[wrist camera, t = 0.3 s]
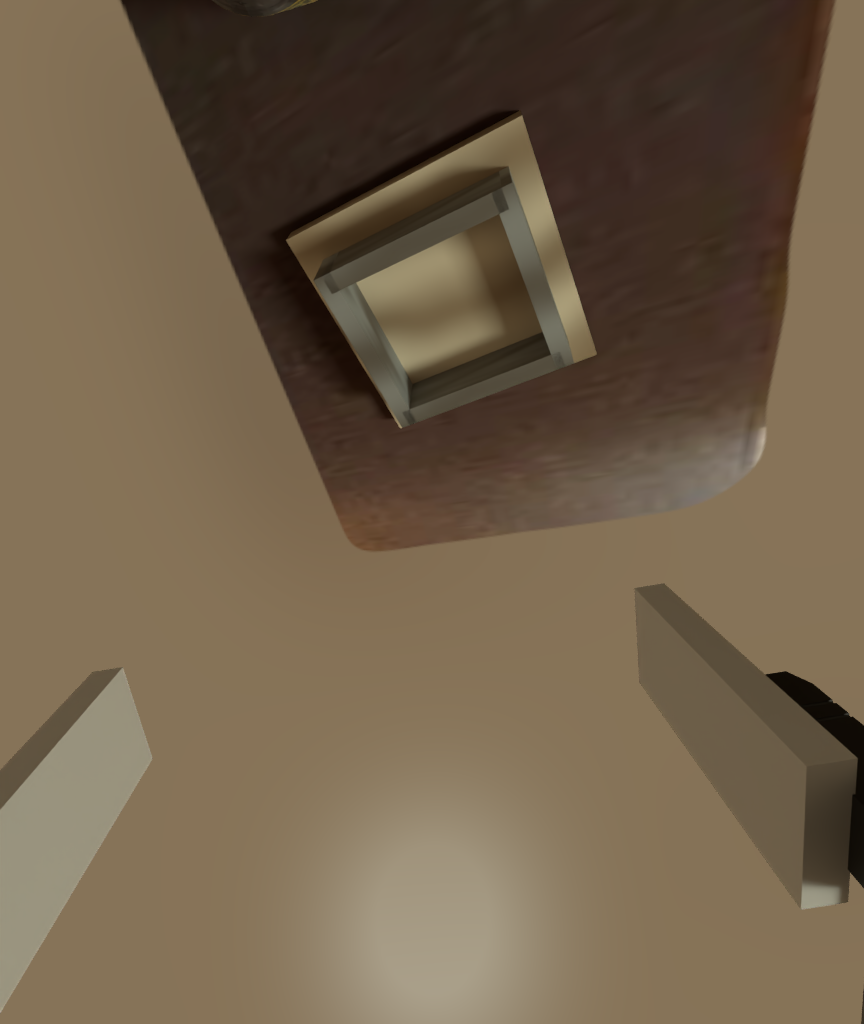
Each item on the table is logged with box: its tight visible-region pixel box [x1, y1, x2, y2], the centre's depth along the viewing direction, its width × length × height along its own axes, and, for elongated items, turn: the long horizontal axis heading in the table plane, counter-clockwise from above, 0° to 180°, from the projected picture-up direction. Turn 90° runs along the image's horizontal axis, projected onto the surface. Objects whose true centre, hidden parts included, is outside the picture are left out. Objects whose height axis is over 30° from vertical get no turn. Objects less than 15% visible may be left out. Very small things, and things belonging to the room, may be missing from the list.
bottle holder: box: [286, 111, 597, 428], centre depth 40 cm, size 16×16×5 cm
